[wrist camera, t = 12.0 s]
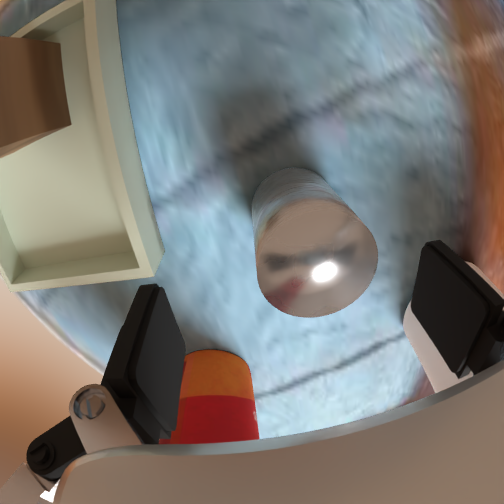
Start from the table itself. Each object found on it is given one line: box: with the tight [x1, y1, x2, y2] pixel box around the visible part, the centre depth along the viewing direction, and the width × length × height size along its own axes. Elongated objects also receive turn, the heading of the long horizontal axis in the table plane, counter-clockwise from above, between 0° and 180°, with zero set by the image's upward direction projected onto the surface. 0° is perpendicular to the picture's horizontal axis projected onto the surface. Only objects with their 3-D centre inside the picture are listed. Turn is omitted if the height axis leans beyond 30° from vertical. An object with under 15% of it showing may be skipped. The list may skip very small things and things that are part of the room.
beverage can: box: [403, 262, 504, 393], centre depth 14 cm, size 8×8×12 cm
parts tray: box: [0, 0, 165, 292], centre depth 12 cm, size 12×15×3 cm
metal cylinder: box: [251, 168, 378, 317], centre depth 13 cm, size 4×4×6 cm
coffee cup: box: [159, 349, 259, 444], centre depth 15 cm, size 8×8×15 cm
